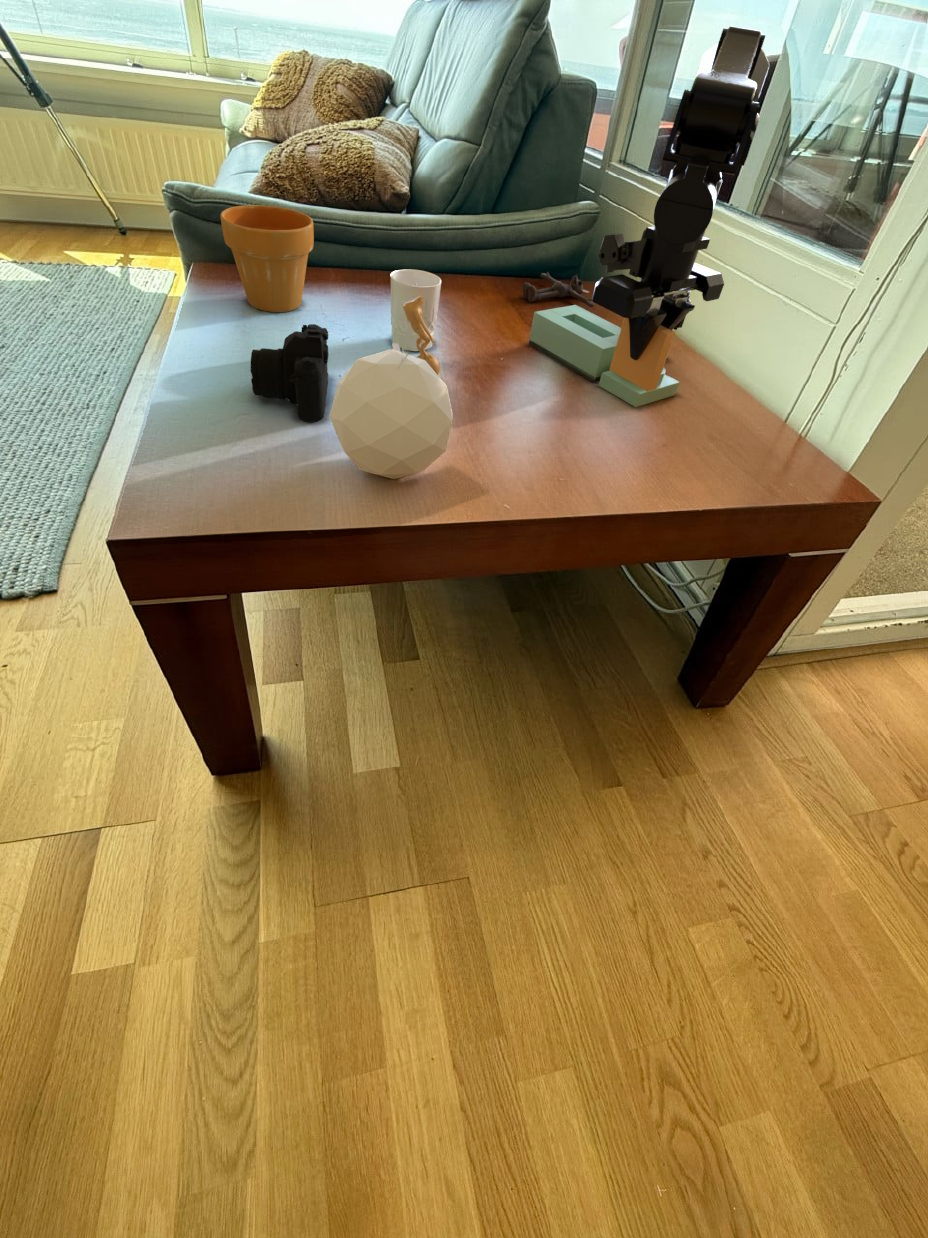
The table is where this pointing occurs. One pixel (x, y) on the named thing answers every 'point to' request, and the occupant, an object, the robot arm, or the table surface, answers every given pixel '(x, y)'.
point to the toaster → (575, 339)
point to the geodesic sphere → (392, 414)
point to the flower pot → (269, 253)
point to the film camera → (295, 372)
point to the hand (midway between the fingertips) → (639, 357)
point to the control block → (638, 388)
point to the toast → (642, 358)
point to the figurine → (421, 331)
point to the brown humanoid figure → (557, 290)
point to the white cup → (408, 289)
